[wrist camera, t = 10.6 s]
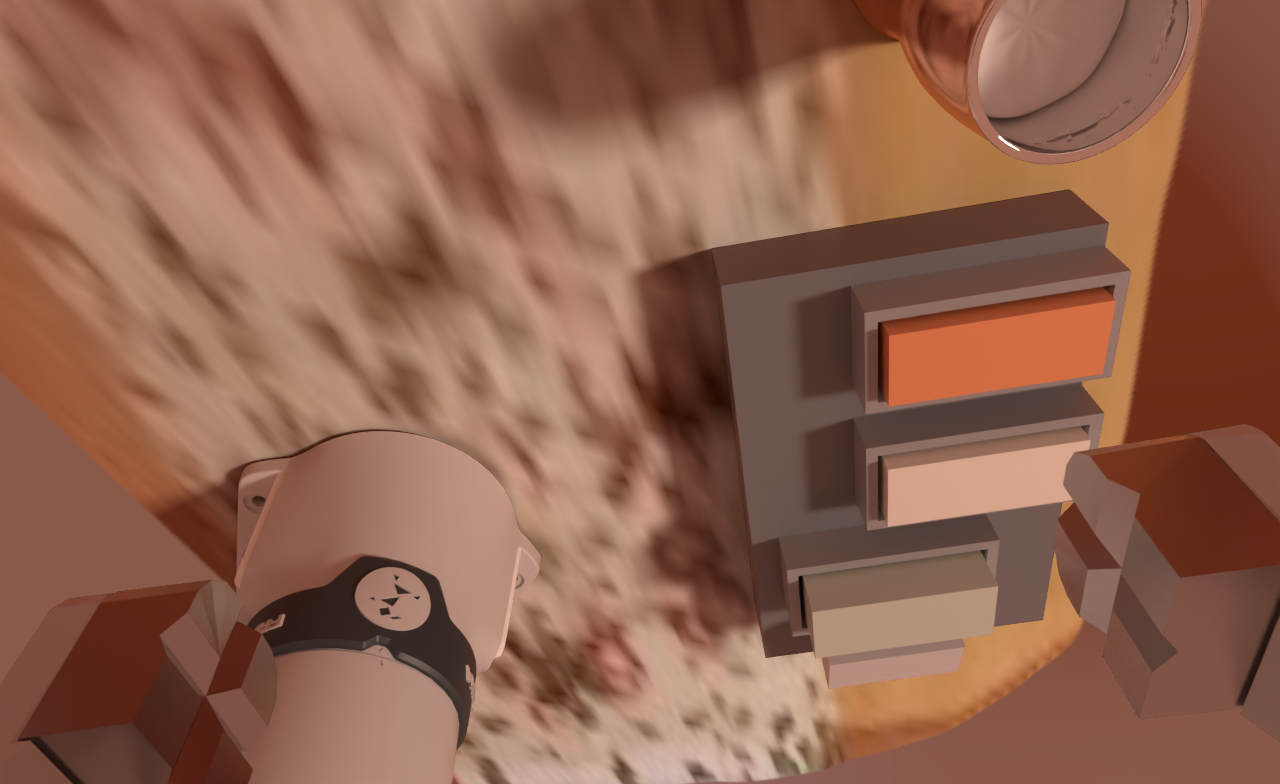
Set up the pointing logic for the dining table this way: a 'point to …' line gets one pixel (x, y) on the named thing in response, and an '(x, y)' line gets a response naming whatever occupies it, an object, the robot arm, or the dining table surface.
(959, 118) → the beer glass
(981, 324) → the bar orange
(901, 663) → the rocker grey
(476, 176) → the dining table surface
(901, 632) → the bar sage
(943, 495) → the bar ivory
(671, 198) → the dining table surface
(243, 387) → the dining table surface
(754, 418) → the panel
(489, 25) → the dining table surface
